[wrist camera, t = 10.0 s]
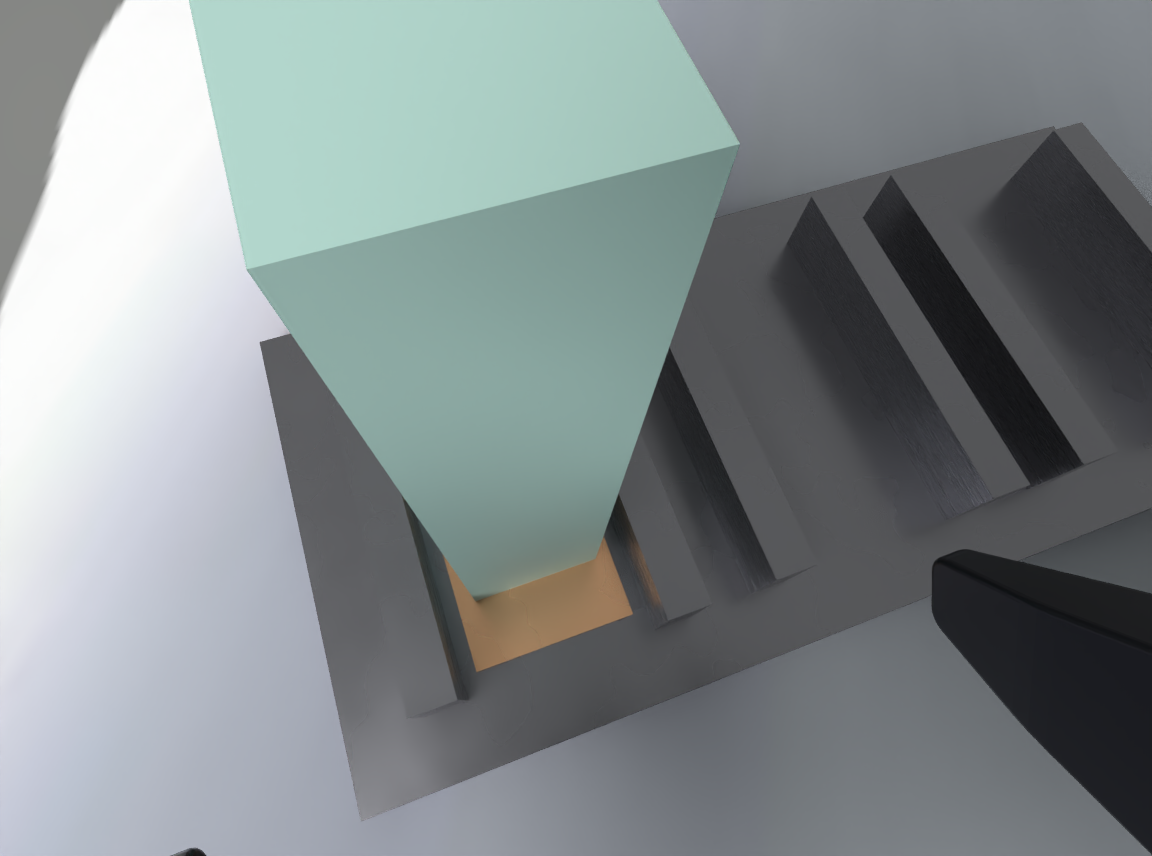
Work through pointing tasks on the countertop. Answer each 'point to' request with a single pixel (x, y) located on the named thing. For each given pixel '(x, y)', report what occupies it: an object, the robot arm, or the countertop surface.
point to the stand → (764, 459)
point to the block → (474, 240)
